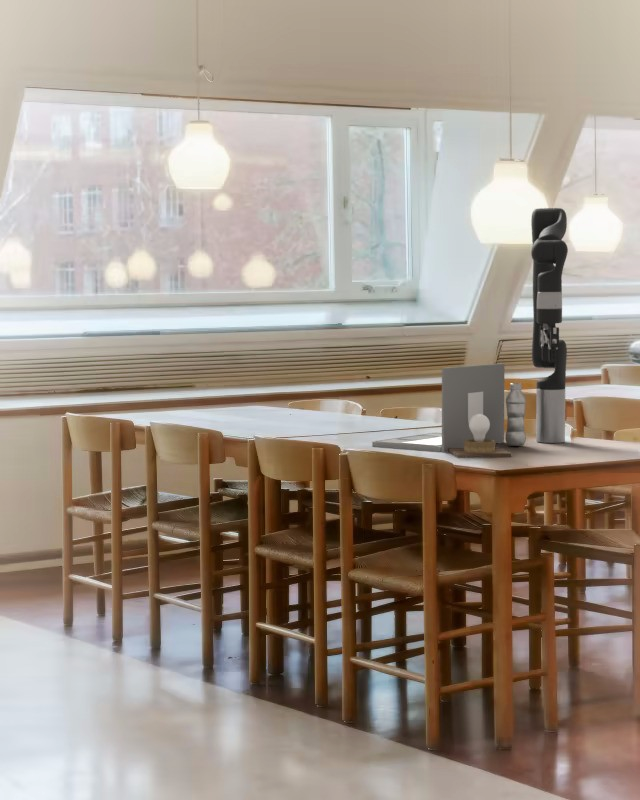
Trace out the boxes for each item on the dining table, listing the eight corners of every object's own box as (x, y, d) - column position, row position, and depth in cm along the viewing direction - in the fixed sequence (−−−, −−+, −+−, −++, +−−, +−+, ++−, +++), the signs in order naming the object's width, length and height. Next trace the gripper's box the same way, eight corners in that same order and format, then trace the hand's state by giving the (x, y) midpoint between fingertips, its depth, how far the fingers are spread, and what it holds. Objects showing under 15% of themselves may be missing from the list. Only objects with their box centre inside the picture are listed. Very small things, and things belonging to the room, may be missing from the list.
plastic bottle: (523, 445, 414) (524, 382, 413) (527, 447, 407) (528, 383, 406) (503, 445, 414) (503, 382, 412) (507, 447, 407) (507, 384, 406)
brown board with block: (448, 451, 398) (448, 438, 398) (500, 450, 399) (500, 437, 399) (457, 457, 382) (457, 444, 382) (511, 456, 383) (511, 443, 383)
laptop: (434, 438, 441) (435, 361, 439) (504, 443, 423) (505, 363, 421) (372, 447, 414) (372, 365, 412) (444, 453, 396) (444, 368, 394)
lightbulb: (475, 451, 388) (475, 415, 387) (464, 449, 393) (464, 413, 393) (493, 450, 390) (494, 414, 389) (482, 448, 396) (482, 412, 395)
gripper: (567, 307, 383) (567, 362, 384) (555, 306, 397) (555, 359, 398) (542, 307, 382) (542, 363, 384) (531, 307, 396) (531, 360, 398)
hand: (549, 361), depth 391 cm, fingers open, 8 cm apart
